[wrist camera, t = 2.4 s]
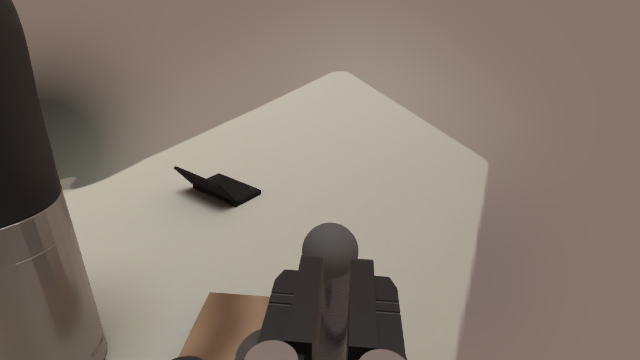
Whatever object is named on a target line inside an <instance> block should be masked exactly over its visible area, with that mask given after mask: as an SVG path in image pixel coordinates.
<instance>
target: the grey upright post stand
mask: <svg viewBox="0 0 640 360" xmlns="http://www.w3.org/2000/svg"><path fill="white" fill-rule="evenodd" d="M302 255H309V256H323V257H324V276H323V302H322V314H321V323H320V332H319V340H318V349H317V358H316V360H346V344H347V315H348V295H349V279H350V264H351V258H353V259H357V258H358V245H357V242H356V239H355V237H354V236H353V234H352V233H351V232H350V231H349V230H348V229H347V228H345V227H344V226H342V225H340V224H336V223H324V224H321V225H318V226H316V227H315V228H313V229H312V230H311V231H310V232H309V233H308V235H307V236H306V238H305V240H304V243H303V247H302ZM260 331H261V329H259V330H257V331H255V332H253V333H251V334H250V335H249V336H247V337H246V338H245V339H244V340H243V341H242V343H241V344H240V346H239V347H238V349H237V352H236V356H235V360H242V359H244V358H245V356H246V354H247V353H248V351H249V350H250V349H251V348H252V347H254V346H255V345H256V344H257V342H258V338H259V335H260Z"/></svg>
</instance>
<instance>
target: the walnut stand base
mask: <svg viewBox="0 0 640 360" xmlns="http://www.w3.org/2000/svg"><path fill="white" fill-rule="evenodd" d="M269 299H270V297H264V296H251V295H238V294H225V293H212V292H210V293H209V295H208V297H207V299H206V301H205V303H204V305H203V307H202V309H201V312H200V314H199V316H198V318H197V320H196V322H195V324H194V326H193V328H192V330H191V332H190V334H189V336H188V338H187V341H186V343H185V345H184V347H183V349H182V351H181V353H180V355H179V357H182V356H195V357H199V358H201V359H203V360H235V356H236V352H237V349H238V347H239V346H240V344H241V343H242V341H243V340H244V339H245V338H246V337H247V336H249V335H250V334H251V333H253V332H255V331H257V330H259V329H261V328H262V324H263V320H264V317H265V313H266V310H267V306H268V304H269Z"/></svg>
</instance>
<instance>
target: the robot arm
mask: <svg viewBox="0 0 640 360" xmlns="http://www.w3.org/2000/svg"><path fill="white" fill-rule="evenodd" d="M323 276H324V257H323V256H309V255H302V256H301V260H300V265H299V270H298V271H297V270H284V271H283V272H282V273H281V274H280V275H279V276H278V277H277V278H276V279H275V282H274V285H273V289H272V294H271V296H270V299H269V304H268V306H267V310H266V313H265V317H264V320H263V324H262V328H261V331H260V335H259V338H258V342H257V344H256V345H255V346H254V347H252V348H251V349H250V350H249V351H248V353H247V354H246V356H245V358H244V359H242V360H316V358H317V349H318V340H319V332H320V323H321V314H322V302H323ZM106 351H107V343H106V339H105V336H104V332H103V329H102V325H101V322H100V318H99V315H98V311H97V307H96V304H95V300H94V297H93V293H92V290H91V286H90V283H89V279H88V276H87V273H86V269H85V266H84V262H83V259H82V255H81V252H80V248H79V245H78V241H77V238H76V235H75V231H74V228H73V224H72V221H71V218H70V214H69V211H68V207H67V204H66V201H65V197H64V194H63V190H62V187H61V184H60V180H59V177H58V174H57V170H56V166H55V162H54V157H53V153H52V149H51V145H50V141H49V138H48V134H47V131H46V127H45V123H44V119H43V115H42V111H41V107H40V103H39V99H38V94H37V89H36V84H35V80H34V75H33V70H32V66H31V61H30V56H29V51H28V47H27V43H26V40H25V36H24V32H23V28H22V25H21V23H20V20H19V17H18V14H17V11H16V9H15V6H14V5H13V2H12V0H0V360H104V358H105V354H106ZM173 360H203V359H201V358H199V357H195V356H182V357H178V358H175V359H173ZM346 360H407V358H406V354H405V347H404V339H403V331H402V323H401V315H400V307H399V299H398V291H397V288H396V286H395V285H394V283H393V282H392V280H391V279H390V278H389V277H382V276H374V263H373V260H368V259H353V258H351V264H350V279H349V295H348V315H347V344H346Z"/></svg>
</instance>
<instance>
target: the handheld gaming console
mask: <svg viewBox="0 0 640 360" xmlns="http://www.w3.org/2000/svg"><path fill="white" fill-rule="evenodd" d="M174 169H175V170H177V171H178V172H179V173H180V174H181V175H182V176H184V177H185V178H186V179H187V180H188V181H189V182H191V183H192V184H193V188H194V189H196V190H199V191H201V192H204V193H206V194H208V195H210V196H212V197H215V198H217V199H219V200H221V201H224V202H226V203H228V204H230V205H232V206H234V207H237V206H239V205H241V204H243V203H245V202H247V201H249V200H251V199H253V198H254V197H256V196H258V195H260V194H261V190H259V189H257V188H254V187H252V186H250V185H247V184H245V183H242V182H239V181H237V180H234V179H232V178H229V177H227V176H224V175H222V174H216V175H214V176H212V177H209V178H207V179H205V178H203V177H200V176H198V175H196V174H193V173H191V172H188V171H186V170H184V169H181V168H179V167H176V166H175V167H174Z"/></svg>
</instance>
